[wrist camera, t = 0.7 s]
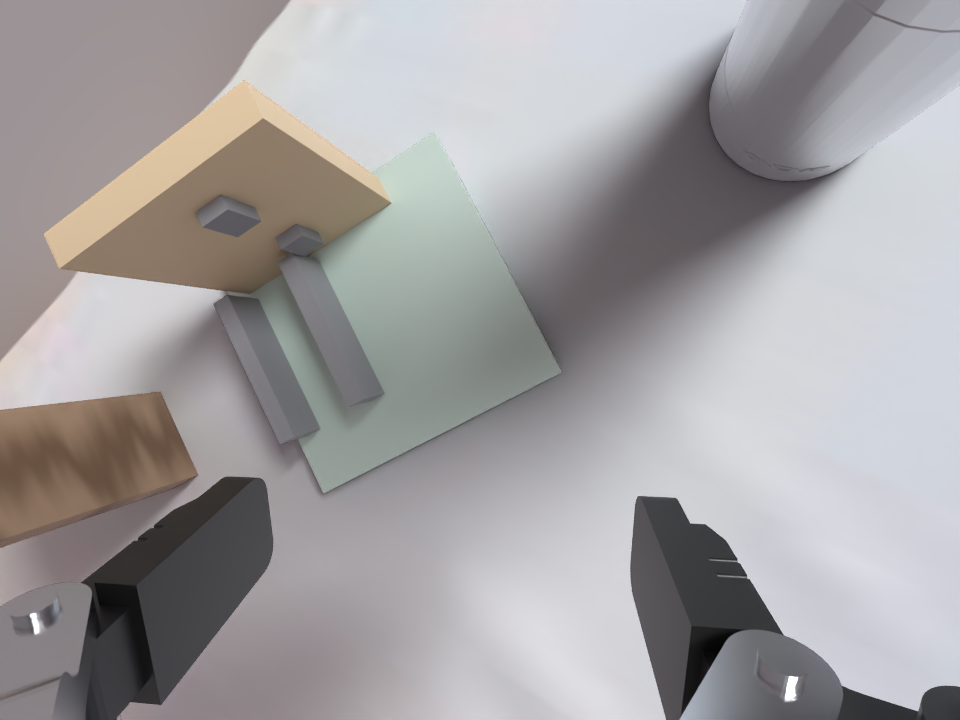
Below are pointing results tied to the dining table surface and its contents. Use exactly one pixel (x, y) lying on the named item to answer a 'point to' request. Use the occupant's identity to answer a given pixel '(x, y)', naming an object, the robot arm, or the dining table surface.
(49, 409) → the door panel
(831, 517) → the dining table surface
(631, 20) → the dining table surface
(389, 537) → the dining table surface
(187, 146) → the cabinet frame
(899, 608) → the dining table surface
